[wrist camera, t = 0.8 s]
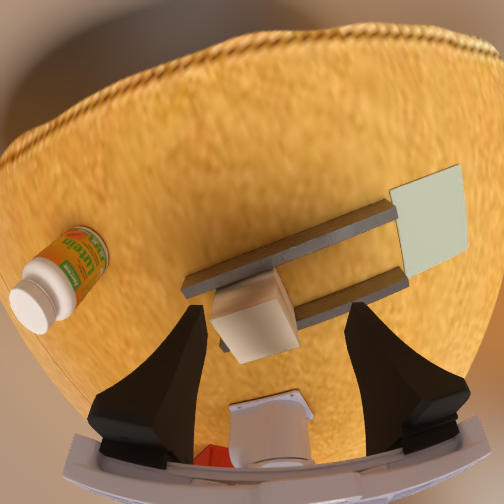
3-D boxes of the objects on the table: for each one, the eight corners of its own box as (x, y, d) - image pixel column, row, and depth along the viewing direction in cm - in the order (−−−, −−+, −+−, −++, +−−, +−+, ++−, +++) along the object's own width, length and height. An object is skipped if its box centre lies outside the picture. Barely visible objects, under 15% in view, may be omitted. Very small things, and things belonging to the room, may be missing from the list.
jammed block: (242, 324, 26) (240, 364, 21) (217, 282, 24) (209, 320, 19) (293, 307, 25) (300, 346, 20) (273, 262, 23) (276, 298, 18)
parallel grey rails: (225, 338, 27) (224, 352, 25) (185, 276, 24) (180, 289, 22) (400, 275, 24) (409, 286, 22) (385, 199, 21) (396, 206, 19)
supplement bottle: (119, 252, 23) (63, 320, 14) (95, 286, 25) (47, 352, 16) (78, 213, 21) (8, 264, 13) (58, 250, 23) (-1, 306, 14)
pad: (405, 278, 24) (406, 279, 24) (388, 190, 20) (389, 190, 20) (466, 248, 22) (467, 249, 22) (458, 163, 19) (460, 164, 19)
